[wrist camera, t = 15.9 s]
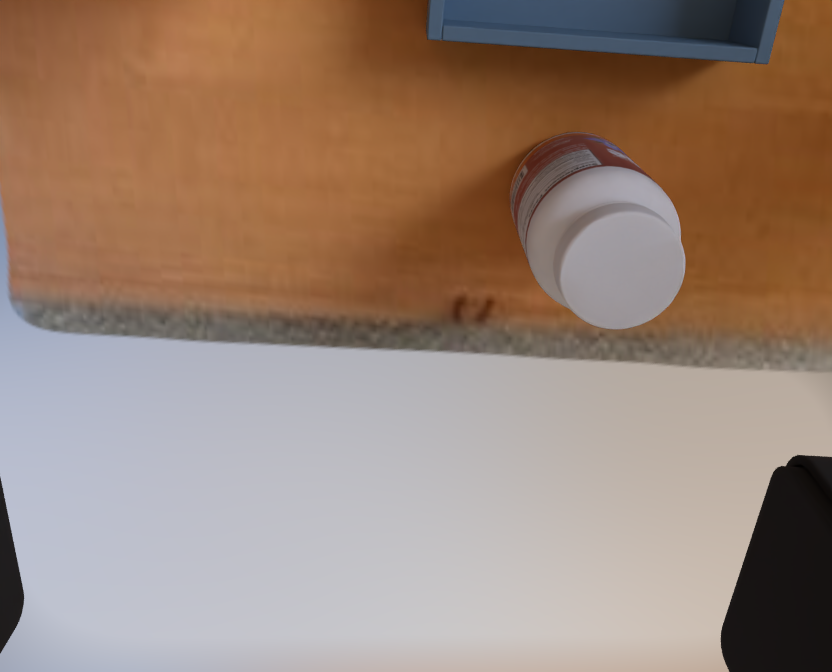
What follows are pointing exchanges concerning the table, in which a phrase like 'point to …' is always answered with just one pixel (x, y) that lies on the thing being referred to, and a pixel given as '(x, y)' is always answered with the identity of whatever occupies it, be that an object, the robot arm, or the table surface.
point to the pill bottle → (597, 231)
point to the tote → (615, 26)
